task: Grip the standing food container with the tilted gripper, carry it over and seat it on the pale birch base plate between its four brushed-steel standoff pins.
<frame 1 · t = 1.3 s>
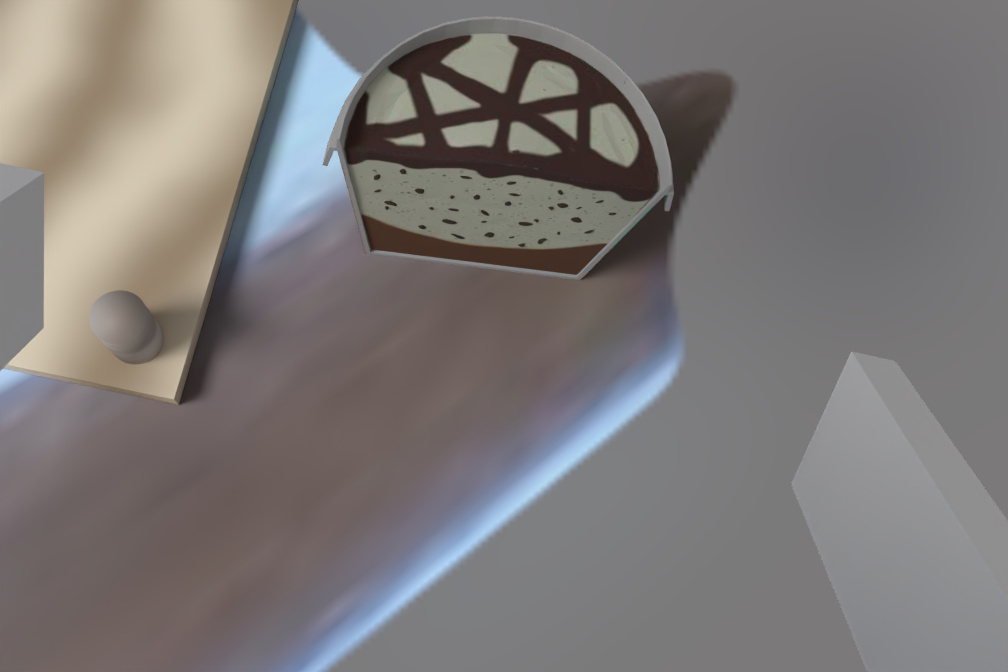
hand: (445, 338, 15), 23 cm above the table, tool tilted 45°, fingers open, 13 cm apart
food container: (479, 204, 42), on the table
pin plate: (71, 129, 40), on the table
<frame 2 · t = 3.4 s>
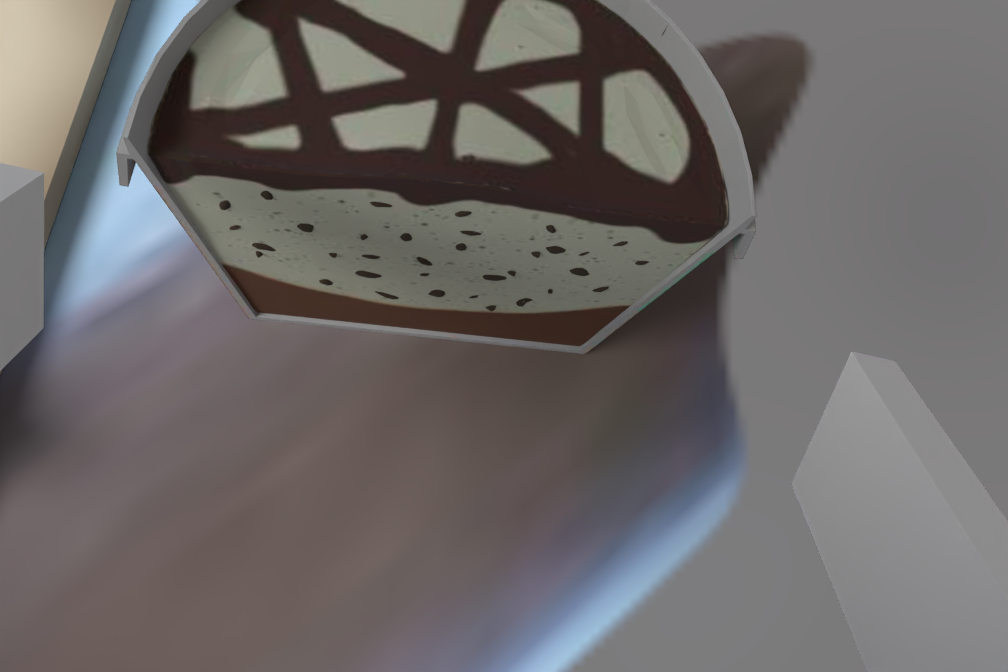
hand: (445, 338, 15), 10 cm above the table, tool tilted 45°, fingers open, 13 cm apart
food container: (430, 237, 27), on the table
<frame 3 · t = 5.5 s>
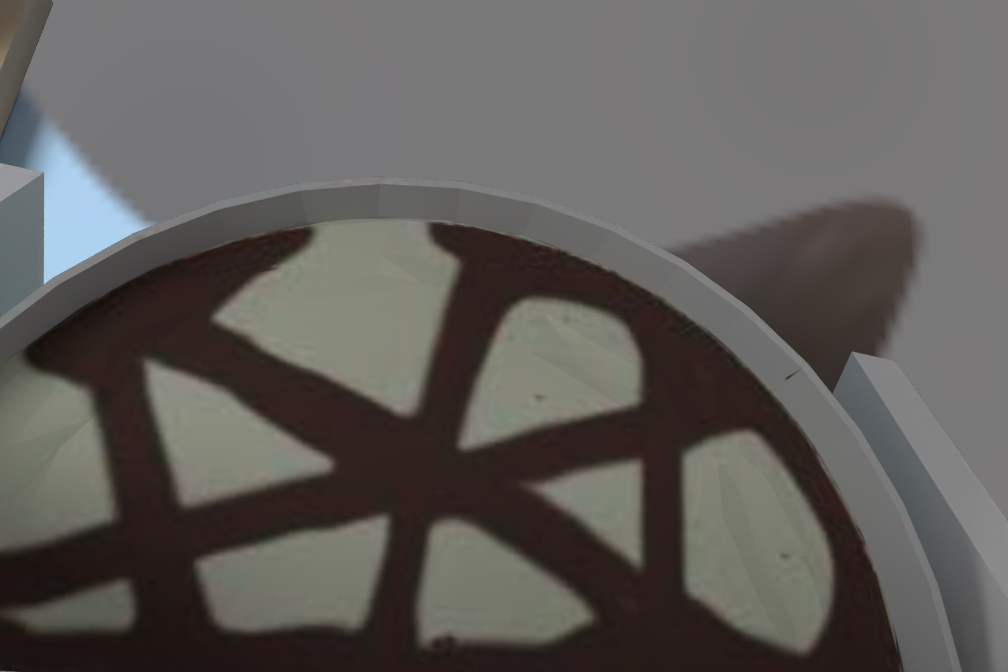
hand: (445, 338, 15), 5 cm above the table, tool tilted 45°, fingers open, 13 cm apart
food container: (402, 510, 19), on the table, touching gripper
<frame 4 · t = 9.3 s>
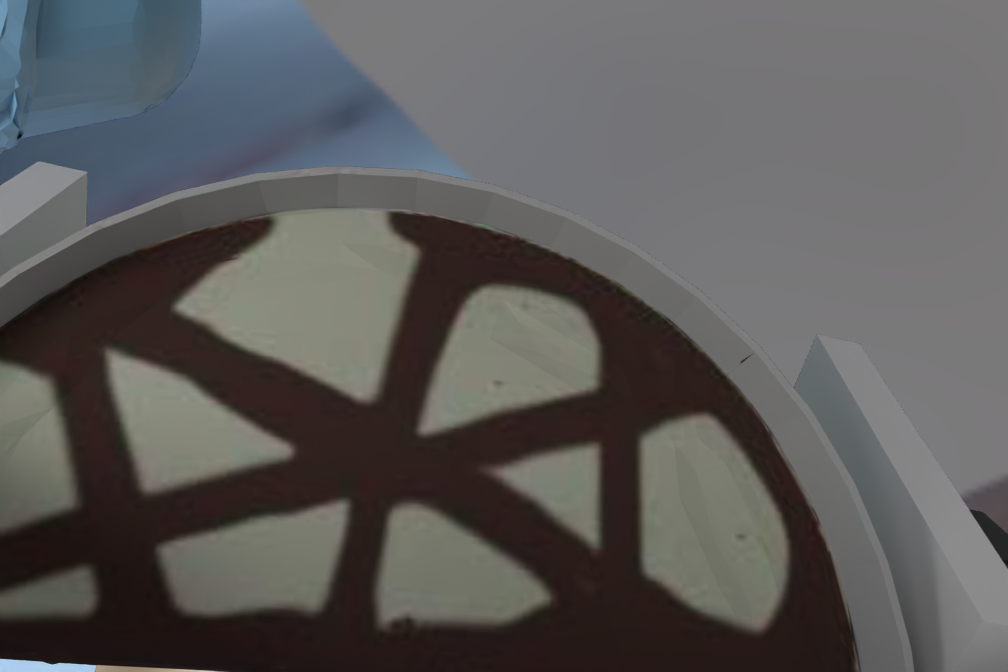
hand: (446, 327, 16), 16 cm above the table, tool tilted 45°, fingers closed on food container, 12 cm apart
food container: (378, 501, 20), point 12 cm above the table, touching gripper
pin plate: (386, 562, 30), on the table
when the fingers open (6 cm above the table, at t = 12.4 s): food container stays where it is, resting on pin plate.
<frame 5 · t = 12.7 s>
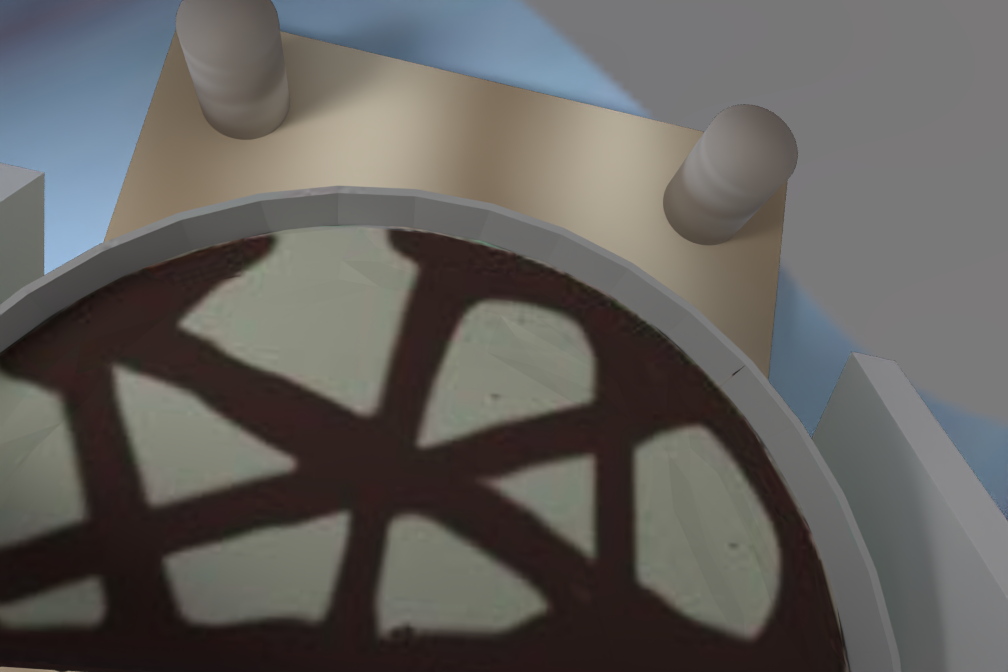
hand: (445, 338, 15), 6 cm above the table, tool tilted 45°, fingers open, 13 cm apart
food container: (381, 509, 20), point 1 cm above the table, touching pin plate
pin plate: (401, 519, 21), on the table
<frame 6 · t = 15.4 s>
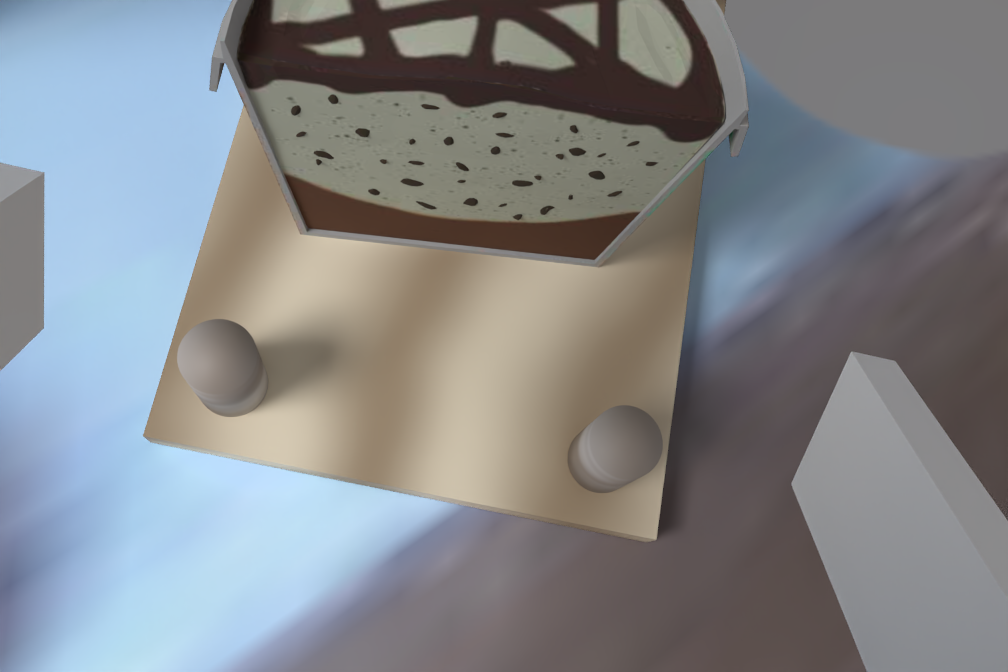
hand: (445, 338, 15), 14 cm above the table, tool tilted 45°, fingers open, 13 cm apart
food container: (459, 165, 31), point 1 cm above the table, touching pin plate
pin plate: (470, 180, 31), on the table
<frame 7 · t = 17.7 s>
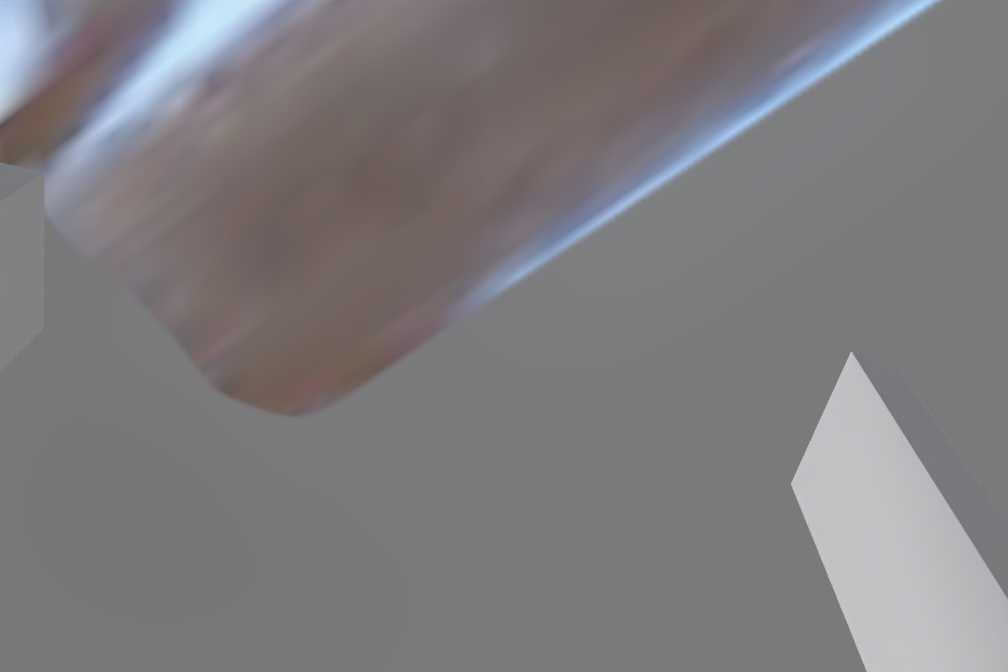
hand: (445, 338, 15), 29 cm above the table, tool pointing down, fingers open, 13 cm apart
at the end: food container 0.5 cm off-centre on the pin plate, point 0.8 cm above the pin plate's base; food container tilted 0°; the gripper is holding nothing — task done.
